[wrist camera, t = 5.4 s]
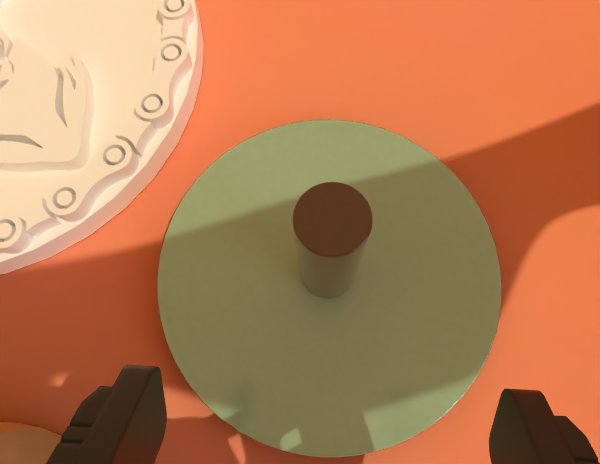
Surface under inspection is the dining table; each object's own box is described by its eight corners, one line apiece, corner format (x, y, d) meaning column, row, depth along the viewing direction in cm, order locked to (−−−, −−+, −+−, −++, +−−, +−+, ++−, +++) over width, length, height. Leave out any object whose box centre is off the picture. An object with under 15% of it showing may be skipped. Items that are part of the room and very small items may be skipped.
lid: (265, 85, 26) (244, -46, 18) (542, 212, 23) (655, 124, 15) (99, 344, 22) (-18, 319, 14) (407, 527, 19) (467, 619, 12)
